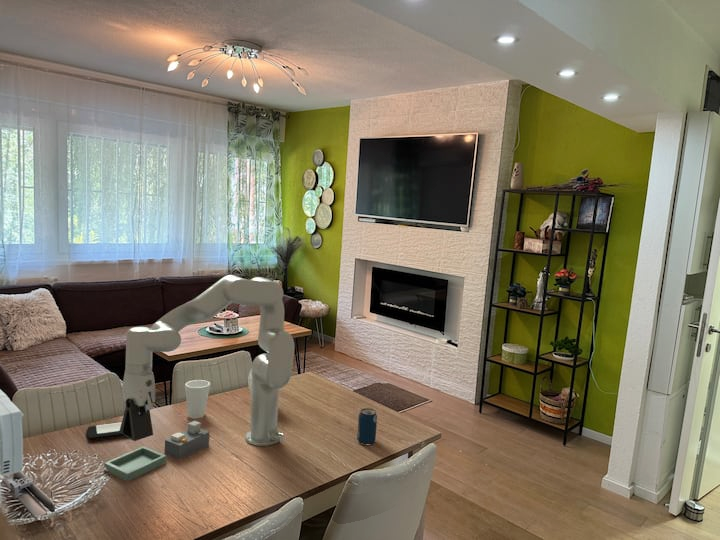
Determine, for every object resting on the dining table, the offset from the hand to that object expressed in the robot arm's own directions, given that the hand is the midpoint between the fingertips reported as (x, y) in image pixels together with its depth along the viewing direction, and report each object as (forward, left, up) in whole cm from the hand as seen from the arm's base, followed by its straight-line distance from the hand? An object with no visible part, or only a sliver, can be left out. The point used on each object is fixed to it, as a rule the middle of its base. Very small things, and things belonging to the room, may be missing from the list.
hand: (136, 424), depth 152 cm
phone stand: (0, 0, -3) cm, 3 cm away
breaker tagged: (-3, -14, -11) cm, 18 cm away
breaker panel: (-4, -17, -14) cm, 22 cm away
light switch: (+26, -12, -15) cm, 32 cm away
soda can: (-51, -60, -14) cm, 80 cm away
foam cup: (+15, -39, -14) cm, 44 cm away
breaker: (-3, -21, -10) cm, 23 cm away
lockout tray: (0, 0, -14) cm, 14 cm away
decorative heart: (0, -62, -14) cm, 64 cm away
